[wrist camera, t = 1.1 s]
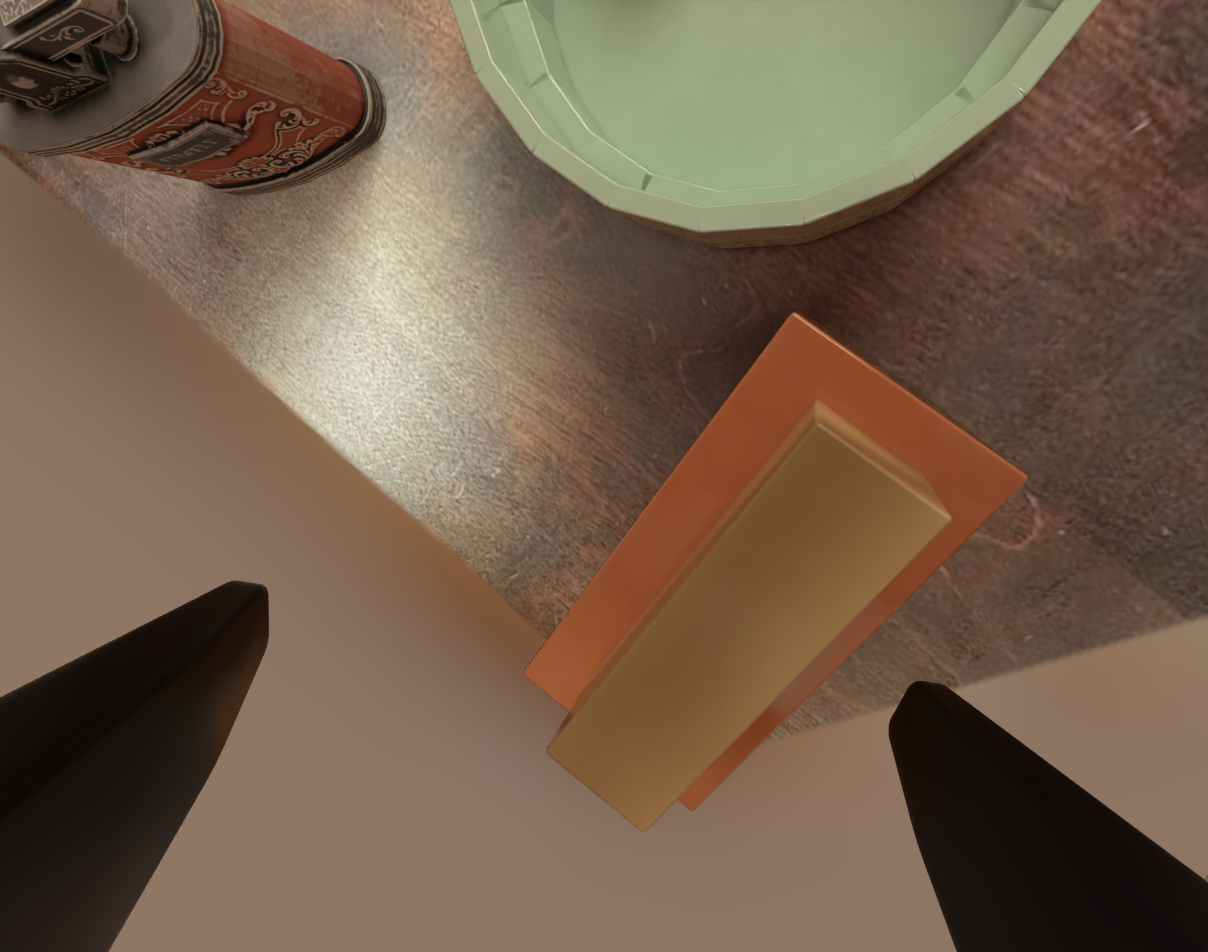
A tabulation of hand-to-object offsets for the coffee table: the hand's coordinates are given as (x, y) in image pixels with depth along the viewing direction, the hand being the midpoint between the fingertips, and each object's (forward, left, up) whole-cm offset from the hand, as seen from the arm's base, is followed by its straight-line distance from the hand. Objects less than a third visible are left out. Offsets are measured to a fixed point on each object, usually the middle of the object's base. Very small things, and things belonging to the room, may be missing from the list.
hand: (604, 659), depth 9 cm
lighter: (+19, 0, -14) cm, 24 cm away
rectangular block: (-2, 0, -14) cm, 14 cm away
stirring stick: (-2, 0, -5) cm, 5 cm away
